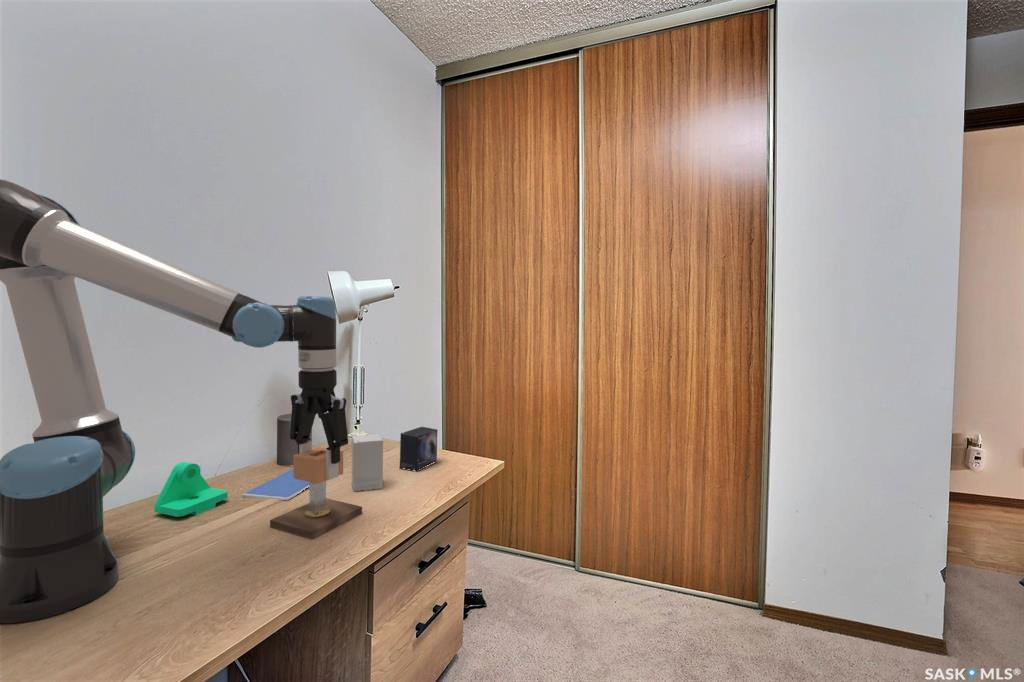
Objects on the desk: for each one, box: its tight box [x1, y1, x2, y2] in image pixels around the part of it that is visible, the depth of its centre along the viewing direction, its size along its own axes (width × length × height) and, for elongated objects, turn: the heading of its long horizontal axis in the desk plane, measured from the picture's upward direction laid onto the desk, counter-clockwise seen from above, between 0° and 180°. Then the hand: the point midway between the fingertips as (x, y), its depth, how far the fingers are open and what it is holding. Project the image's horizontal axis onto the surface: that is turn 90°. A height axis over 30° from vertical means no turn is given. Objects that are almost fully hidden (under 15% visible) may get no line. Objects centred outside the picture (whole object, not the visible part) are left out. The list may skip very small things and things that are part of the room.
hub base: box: [269, 480, 363, 540], centre depth 103 cm, size 14×12×8 cm
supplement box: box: [351, 433, 384, 492], centre depth 124 cm, size 7×7×13 cm
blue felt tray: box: [242, 469, 310, 501], centre depth 123 cm, size 19×13×1 cm, turn 171°
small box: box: [399, 426, 438, 472], centre depth 141 cm, size 11×6×10 cm, turn 154°
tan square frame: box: [292, 446, 344, 484], centre depth 102 cm, size 7×7×5 cm
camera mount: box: [153, 461, 229, 518], centre depth 107 cm, size 12×8×10 cm, turn 161°
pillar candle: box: [276, 413, 313, 466], centre depth 143 cm, size 10×10×15 cm
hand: (318, 475), depth 102 cm, fingers closed on tan square frame, 7 cm apart
